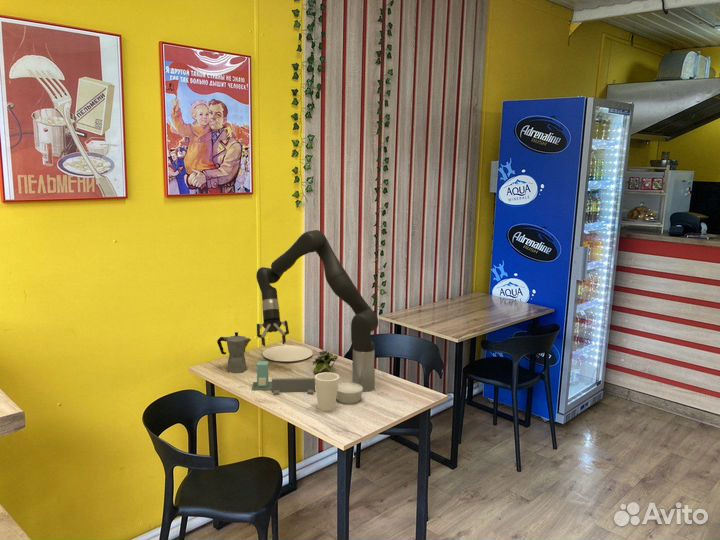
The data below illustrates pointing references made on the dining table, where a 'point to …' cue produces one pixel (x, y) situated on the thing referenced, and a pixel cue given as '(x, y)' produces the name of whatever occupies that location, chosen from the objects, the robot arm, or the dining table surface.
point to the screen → (293, 385)
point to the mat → (263, 387)
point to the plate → (287, 353)
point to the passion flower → (324, 361)
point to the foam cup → (326, 390)
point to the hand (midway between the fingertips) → (274, 345)
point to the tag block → (262, 374)
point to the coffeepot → (235, 352)
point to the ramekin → (349, 393)
